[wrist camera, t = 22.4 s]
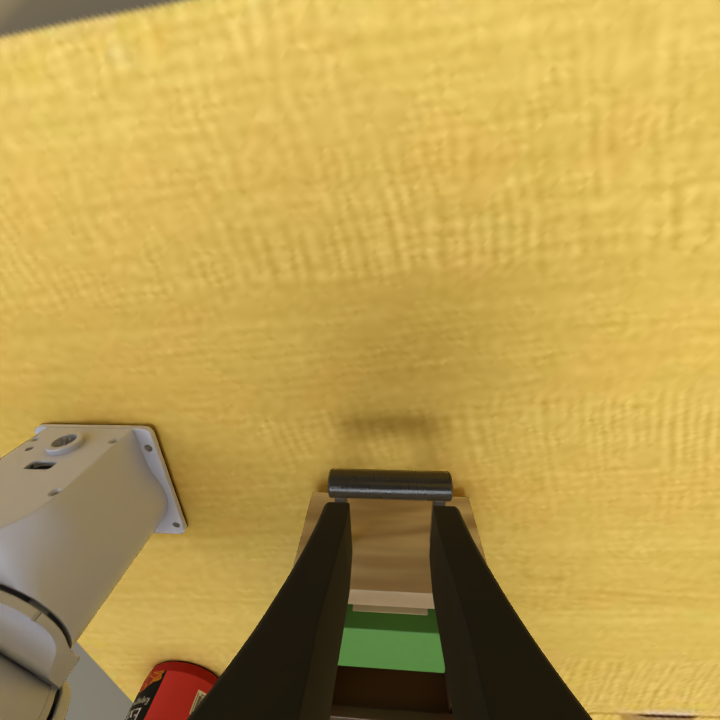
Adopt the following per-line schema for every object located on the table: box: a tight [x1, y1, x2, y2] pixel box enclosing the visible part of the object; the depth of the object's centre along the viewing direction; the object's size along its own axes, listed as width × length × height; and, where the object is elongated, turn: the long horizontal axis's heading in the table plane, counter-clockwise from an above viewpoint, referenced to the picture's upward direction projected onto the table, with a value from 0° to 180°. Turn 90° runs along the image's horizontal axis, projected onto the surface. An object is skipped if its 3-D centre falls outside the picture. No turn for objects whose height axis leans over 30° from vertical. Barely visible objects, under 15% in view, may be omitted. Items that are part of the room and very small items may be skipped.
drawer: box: [293, 468, 487, 714], centre depth 21 cm, size 18×10×6 cm, turn 2°
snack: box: [338, 604, 445, 673], centre depth 22 cm, size 4×6×4 cm, turn 92°
